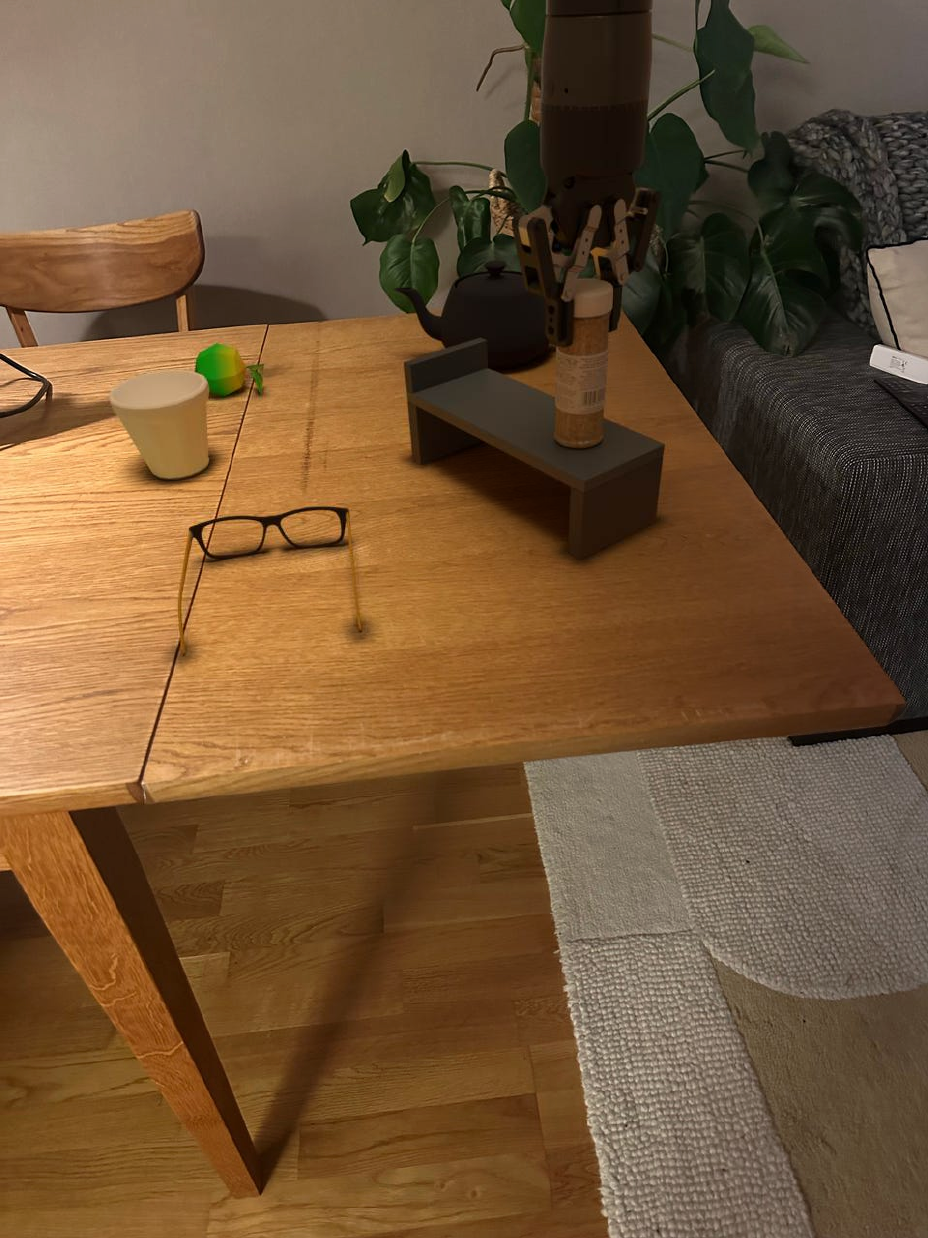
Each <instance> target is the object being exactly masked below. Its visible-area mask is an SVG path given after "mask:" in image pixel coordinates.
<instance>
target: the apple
mask: <svg viewBox="0 0 928 1238" xmlns="http://www.w3.org/2000/svg"><path fill="white" fill-rule="evenodd" d="M264 366H265V363H259V364H253V365H246V363H245V362H244V359H243V358H242V356H241V355H240V353H239V351H238V349H237V348H234V347H231V346H228V345H225V344H222V343H218V342H215V343H214V344H212V345H211V346H208V347H207V348H205V349H204V350H202V351H199V353H198V354H197V357H196V358H195V366H194V372H196V373H198V374H201V375H203V376H204V377H205V379H206V380H207V382H208V386H209V393H211V394H215V395H218V396H222V397H226V396H228V395H230V394H232V393H233V392H235V391H237V390H238V389H240V388H242V387H243V385H244V382H245V377H246V372H247V369H249V371H250V374H251V376H252V378H253V381H254V383H255V385H256V387H257V389H258V392H259V393H260V396H262V394H263V384H264V383H263V382H264V381H263V380H264V379H263V377H262V374H261V372H263V371H264ZM258 371H259V372H258Z"/></svg>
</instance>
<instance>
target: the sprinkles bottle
mask: <svg viewBox="0 0 928 1238" xmlns="http://www.w3.org/2000/svg"><path fill="white" fill-rule="evenodd" d="M571 300H574V322H573V343H572V345H571V346H568V347H565V348H561V347H558V346H555V376H554V377H555V380H554V397H555V406H556V407H555V431H554V439H555V440H556V441H557V442H558V443H559V444H561V445H563V446H566V447H571V448H588V447H592V446H594V445H596V444H598V443H600V442H601V441H602V439H603V436H604V433H603V418H604V412H605V406H606V397H607V382H608V368H609V367H608V366H609V351H610V350H609V333H610V332H609V316H610V314H611V309H612V304H613V287H612V285H611V284H610V283H608V282H606V281H604V280H600V279H599V278H589V277H586V278H585V277H584V278H578V279H577V283H576V287H575V291H574V295H573V297H572V299H571Z"/></svg>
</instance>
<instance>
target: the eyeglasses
mask: <svg viewBox="0 0 928 1238" xmlns="http://www.w3.org/2000/svg"><path fill="white" fill-rule="evenodd" d="M313 511H330V512H334V513H335V514H336V515H337V517H338V518H339V522H340V536H339V538H338V539H337V540H334V541H330V542H325V543H319V544H309V545H306V544H305V545H304V544H297V543H295V542H293V541H292V540H291V539H290V537H288V535H287V533H286V532H285V530H284V529H283V527H282V520H284V519H285V518H287V517H289V516H292V515H295V514H300V513H305V512H313ZM350 517H351V516H350V510H349V508H347V507H341V506H340V507H339V506H327V505H326V506H325V505H324V506H323V505H322V506H320V505H319V506H306V507H300V508H295V509H291V510H289V511H286V512H283V513H279V514H275V515H267V516H257V515H256V516H255V515H230V516H222V517H217V518H213V519H210V520H206V521H203V522H200V523H197V524H193V525H191V526H189V527H188V533H187V539H186V544H185V551H184V557H183V563H182V570H181V575H180V580H179V581H180V582H179V588H178V594H177V596H178V597H177V619H178V631H179V641H180V642H179V643H180V651H181V653H182V654H185V653H186V644H185V637H184V626H183V617H182V616H183V615H182V614H183V613H182V601H183V592H184V587H185V581H186V575H187V570H188V564H189V560H190V554H191V551H192V545H193V540H194V539H195V540H196V542H197V543H198V544H199V547H200V548H201V550H202V552H203V553H204V554H205V555H206V557H208V558H210V559H213V560H226V559H236V558H237V559H238V558H244V557H249V556H252V555H256V554H258V553H259V552H260V551H261V550H262V548H263V545H264V542H265V538H266V534H267V530H268V527H270V526H276V527H277V529H278V530H279V532H280V534H281V535H282V537H283V538H284V539H285V541H286V542H287V543H288V544H289V545H290V546H292V547H293V548H296V549H301V550H309V549H319V548H325V547H331V546H336V545H339V544H341V542H342V541H343V540H344V538H345V534H346V529H347V535H348V545H349V557H350V568H351V577H352V588H353V596H354V604H355V610H356V611H355V612H356V619H357V627H358V630H359V631H362V622H361V621H362V620H361V615H360V608H359V607H360V606H359V599H358V598H359V597H358V590H357V581H356V573H355V563H354V553H353V551H354V550H353V541H352V531H351V520H350ZM239 520H244V521H245V520H246V521H252V522H253V521H254V522H258V523H260V524H261V525H262V537H261V541H260V544H259V546H258V547H257V548H256V549H254V550H251V551H248V552H243V553H236V554H235V553H234V554H224V555H223V554H222V555H217V554H213V553H211V552H209V550H208V549H207V547H206V545H205V543H204V539H203V531H204V529H205V528H206V527H207V526H210V525H212V524H217V523H220V522H221V523H222V522H227V521H239ZM346 527H347V528H346Z"/></svg>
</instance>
